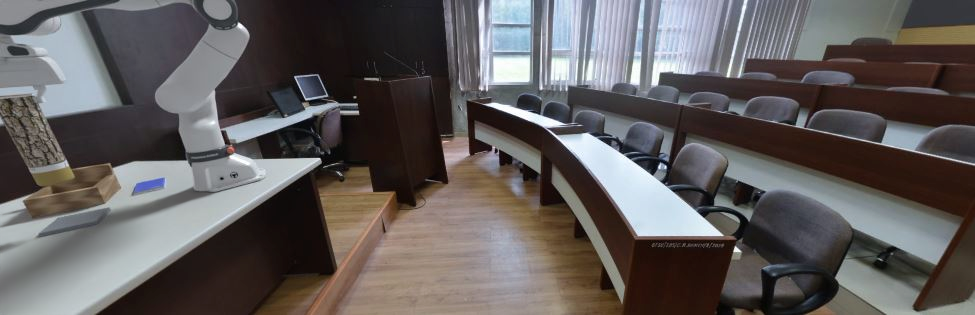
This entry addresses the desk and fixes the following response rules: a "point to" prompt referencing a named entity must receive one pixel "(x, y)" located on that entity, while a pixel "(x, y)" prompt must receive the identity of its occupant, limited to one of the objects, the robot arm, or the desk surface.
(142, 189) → the hard drive
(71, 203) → the frame
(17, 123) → the wooden log
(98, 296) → the desk surface
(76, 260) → the desk surface
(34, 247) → the desk surface
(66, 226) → the slate pad
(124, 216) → the desk surface
